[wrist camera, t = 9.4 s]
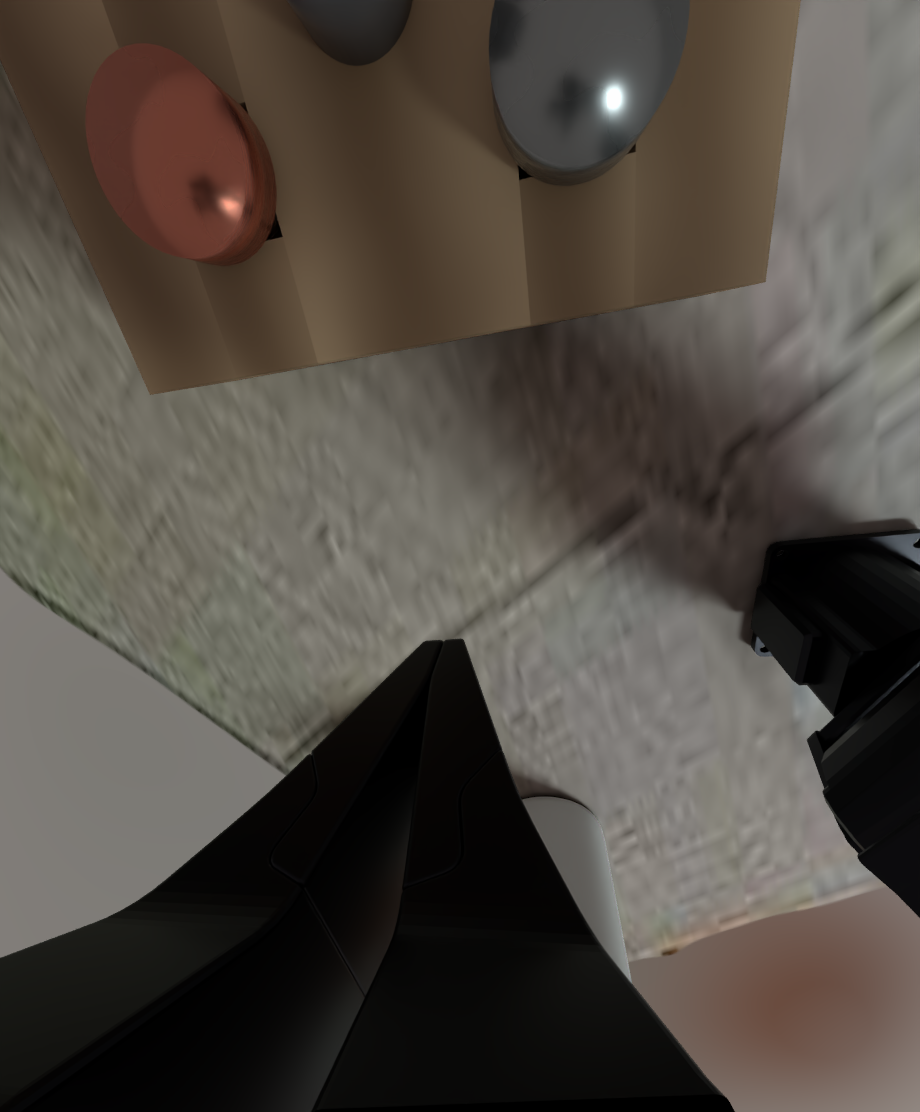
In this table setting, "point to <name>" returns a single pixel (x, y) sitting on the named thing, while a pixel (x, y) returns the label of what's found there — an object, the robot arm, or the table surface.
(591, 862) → the pill bottle
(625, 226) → the mount
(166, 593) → the table surface
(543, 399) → the table surface
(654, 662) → the table surface
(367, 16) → the dial
